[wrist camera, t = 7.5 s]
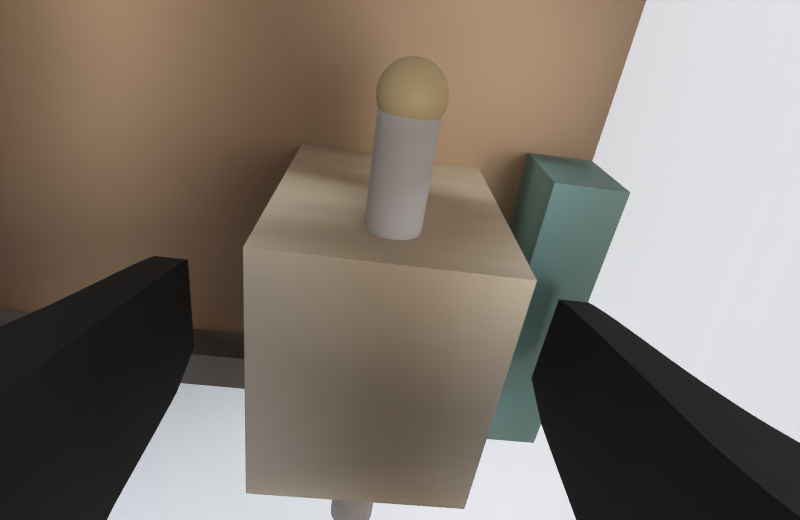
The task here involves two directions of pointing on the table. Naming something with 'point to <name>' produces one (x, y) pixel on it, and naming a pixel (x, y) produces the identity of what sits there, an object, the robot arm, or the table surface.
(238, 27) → the board
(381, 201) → the beige block with rod
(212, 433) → the table surface
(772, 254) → the table surface
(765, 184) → the table surface
